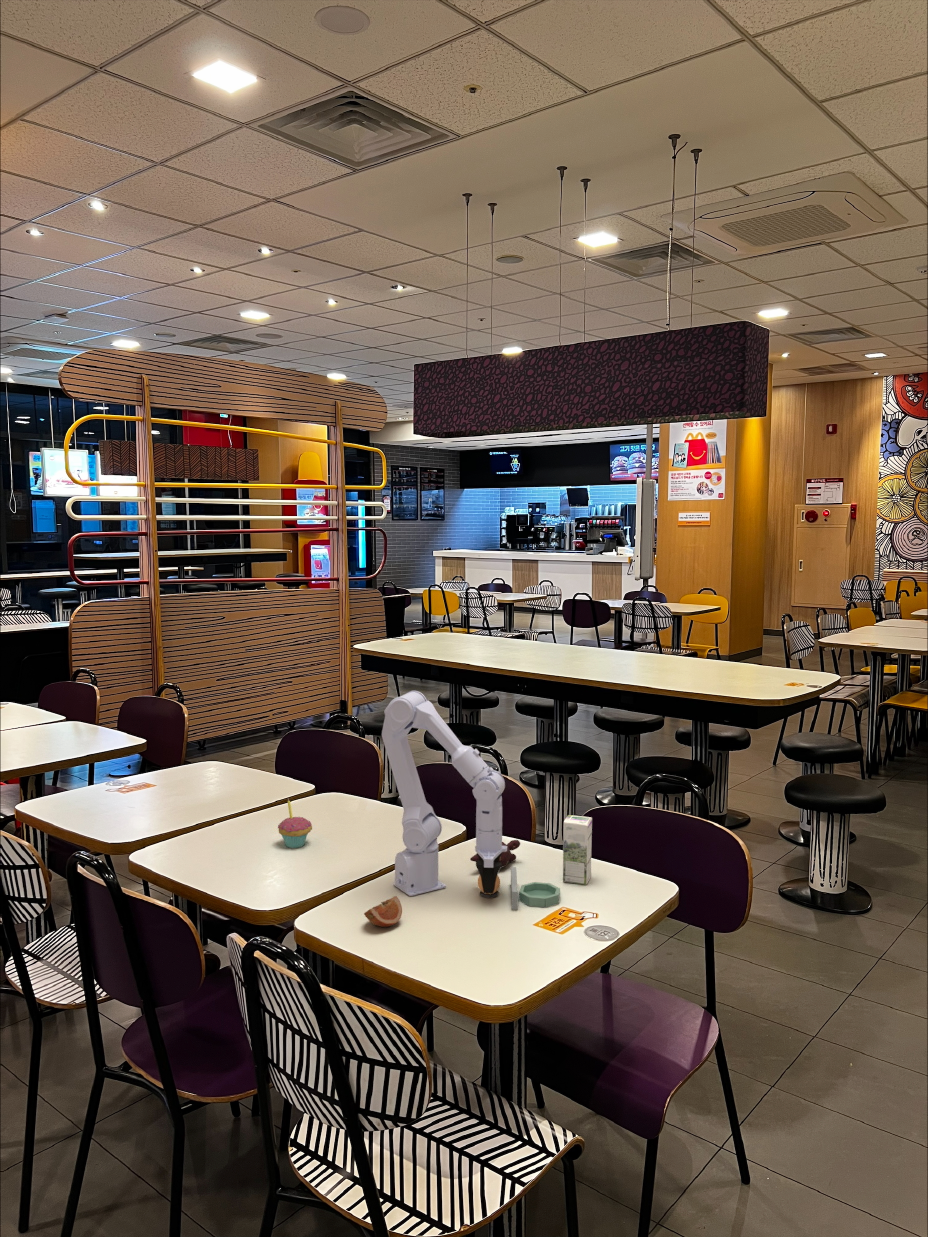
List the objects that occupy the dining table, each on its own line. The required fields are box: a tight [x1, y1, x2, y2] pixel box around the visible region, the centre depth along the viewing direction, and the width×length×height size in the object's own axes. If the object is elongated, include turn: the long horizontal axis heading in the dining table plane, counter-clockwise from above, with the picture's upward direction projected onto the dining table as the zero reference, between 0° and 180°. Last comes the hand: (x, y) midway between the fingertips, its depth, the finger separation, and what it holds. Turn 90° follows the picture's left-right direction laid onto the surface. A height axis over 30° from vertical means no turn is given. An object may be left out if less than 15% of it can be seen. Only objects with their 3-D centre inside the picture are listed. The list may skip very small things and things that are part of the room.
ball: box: [477, 874, 501, 894], centre depth 195 cm, size 5×5×5 cm
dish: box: [518, 881, 561, 909], centre depth 193 cm, size 9×9×2 cm
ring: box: [479, 889, 499, 899], centre depth 195 cm, size 4×4×1 cm
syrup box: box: [562, 814, 593, 886], centre depth 203 cm, size 6×6×14 cm
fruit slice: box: [363, 895, 403, 928], centre depth 180 cm, size 8×7×5 cm
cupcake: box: [277, 798, 313, 849], centre depth 226 cm, size 9×8×12 cm
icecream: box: [469, 839, 521, 868], centre depth 211 cm, size 7×7×15 cm
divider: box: [510, 866, 519, 911], centre depth 194 cm, size 14×1×4 cm, turn 178°
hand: (488, 887), depth 195 cm, fingers closed on ball, 5 cm apart
